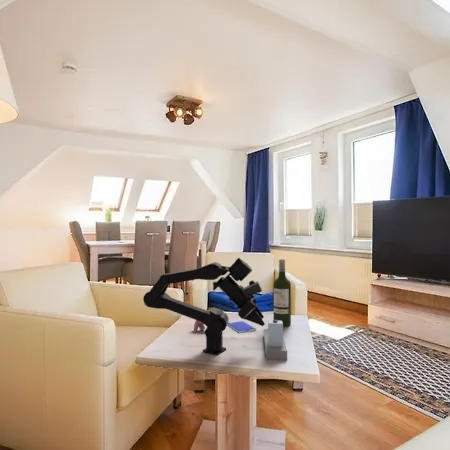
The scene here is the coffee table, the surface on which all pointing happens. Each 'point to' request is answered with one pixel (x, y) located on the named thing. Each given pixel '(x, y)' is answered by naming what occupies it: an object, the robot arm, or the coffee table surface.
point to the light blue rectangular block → (275, 333)
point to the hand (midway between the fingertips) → (263, 321)
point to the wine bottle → (282, 296)
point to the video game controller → (198, 325)
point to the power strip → (274, 349)
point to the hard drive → (241, 327)
